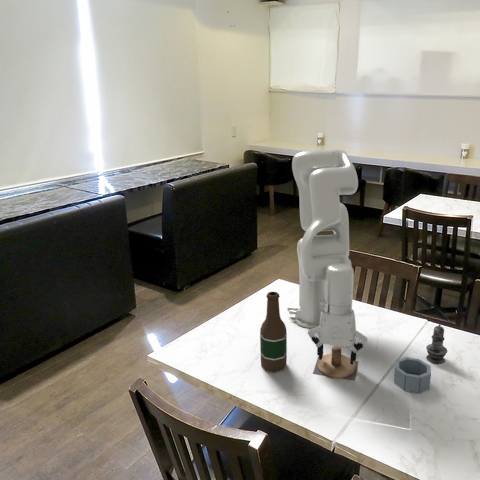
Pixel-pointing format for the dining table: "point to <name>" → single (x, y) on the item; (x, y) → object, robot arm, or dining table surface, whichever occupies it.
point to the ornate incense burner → (437, 347)
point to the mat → (342, 378)
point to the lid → (336, 365)
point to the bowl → (412, 375)
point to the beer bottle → (273, 337)
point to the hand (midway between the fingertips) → (336, 359)
